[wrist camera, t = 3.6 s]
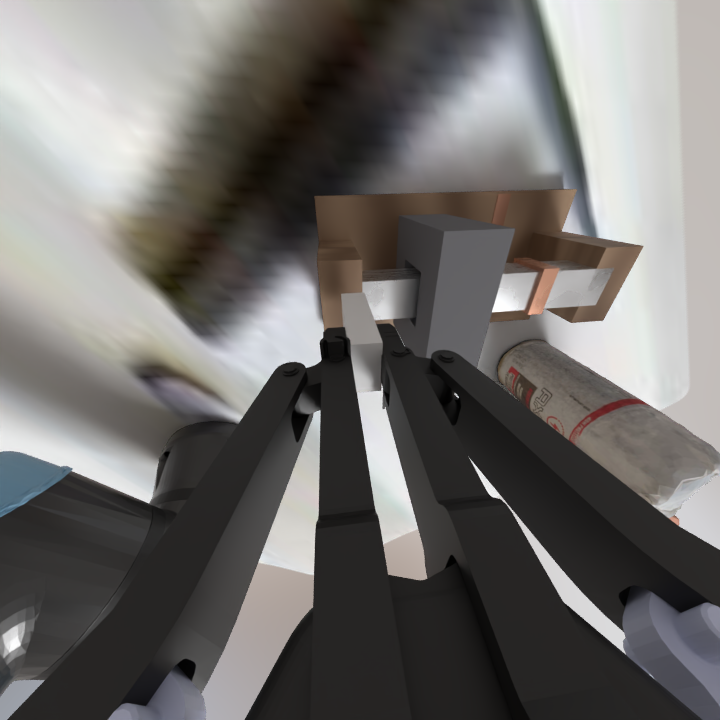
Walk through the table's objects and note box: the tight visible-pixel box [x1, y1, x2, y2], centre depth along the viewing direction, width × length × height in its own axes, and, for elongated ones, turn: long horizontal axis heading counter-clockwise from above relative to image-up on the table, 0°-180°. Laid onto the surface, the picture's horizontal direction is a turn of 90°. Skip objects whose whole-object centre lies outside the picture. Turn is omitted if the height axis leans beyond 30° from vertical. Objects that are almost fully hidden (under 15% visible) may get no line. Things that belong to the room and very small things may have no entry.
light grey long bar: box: [362, 257, 614, 320], centre depth 21 cm, size 21×4×4 cm, turn 91°
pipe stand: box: [314, 189, 643, 331], centre depth 24 cm, size 24×13×10 cm, turn 91°
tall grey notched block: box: [393, 214, 515, 368], centre depth 21 cm, size 4×10×10 cm, turn 1°
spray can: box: [497, 340, 720, 518], centre depth 28 cm, size 8×8×20 cm
